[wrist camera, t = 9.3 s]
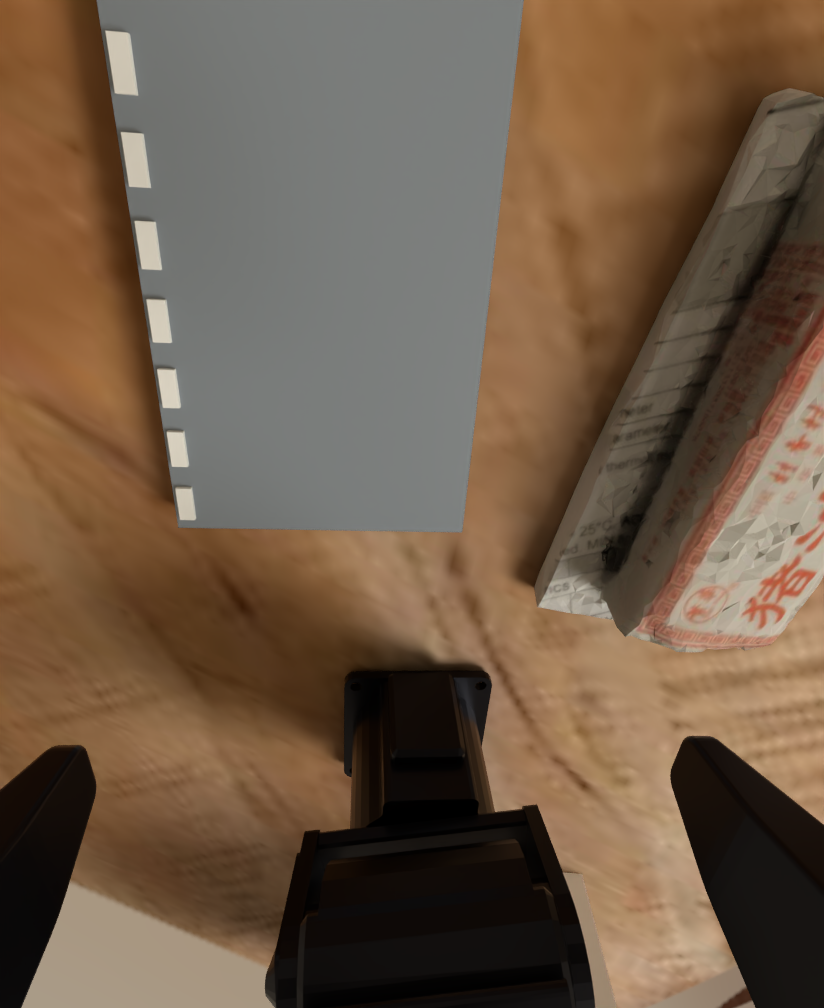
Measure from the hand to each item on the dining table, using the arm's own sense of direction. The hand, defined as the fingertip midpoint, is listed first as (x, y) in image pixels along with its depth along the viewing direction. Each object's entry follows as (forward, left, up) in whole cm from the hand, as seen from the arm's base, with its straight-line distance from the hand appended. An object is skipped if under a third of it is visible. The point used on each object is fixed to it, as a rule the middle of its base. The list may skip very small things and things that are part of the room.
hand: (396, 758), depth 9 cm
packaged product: (+1, -13, -14) cm, 19 cm away
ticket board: (+6, +2, -13) cm, 14 cm away
